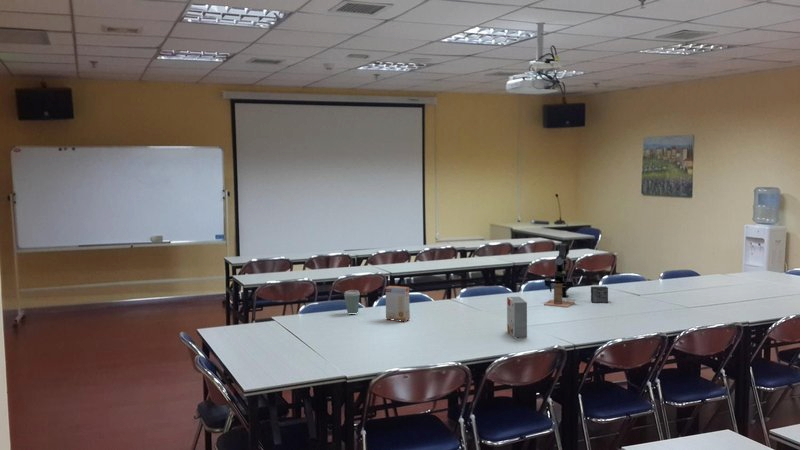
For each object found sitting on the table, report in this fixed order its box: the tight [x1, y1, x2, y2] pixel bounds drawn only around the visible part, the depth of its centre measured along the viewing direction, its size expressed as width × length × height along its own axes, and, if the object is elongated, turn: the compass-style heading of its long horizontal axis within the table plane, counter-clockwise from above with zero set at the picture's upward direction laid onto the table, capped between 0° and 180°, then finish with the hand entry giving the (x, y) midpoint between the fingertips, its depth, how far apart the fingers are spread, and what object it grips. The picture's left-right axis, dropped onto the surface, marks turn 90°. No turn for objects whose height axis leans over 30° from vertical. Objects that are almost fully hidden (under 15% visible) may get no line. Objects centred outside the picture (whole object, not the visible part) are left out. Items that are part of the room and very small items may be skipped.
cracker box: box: [385, 285, 411, 322], centre depth 400 cm, size 14×6×21 cm, turn 59°
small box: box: [590, 285, 609, 304], centre depth 443 cm, size 11×6×10 cm, turn 84°
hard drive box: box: [506, 296, 528, 338], centre depth 361 cm, size 16×8×20 cm, turn 5°
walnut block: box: [553, 283, 563, 304], centre depth 436 cm, size 5×5×13 cm
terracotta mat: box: [543, 299, 575, 308], centre depth 439 cm, size 16×16×1 cm
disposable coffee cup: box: [343, 289, 361, 314], centre depth 419 cm, size 11×11×15 cm
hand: (557, 292), depth 435 cm, fingers open, 9 cm apart
